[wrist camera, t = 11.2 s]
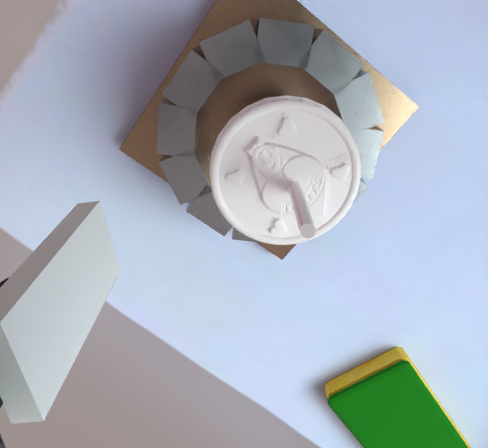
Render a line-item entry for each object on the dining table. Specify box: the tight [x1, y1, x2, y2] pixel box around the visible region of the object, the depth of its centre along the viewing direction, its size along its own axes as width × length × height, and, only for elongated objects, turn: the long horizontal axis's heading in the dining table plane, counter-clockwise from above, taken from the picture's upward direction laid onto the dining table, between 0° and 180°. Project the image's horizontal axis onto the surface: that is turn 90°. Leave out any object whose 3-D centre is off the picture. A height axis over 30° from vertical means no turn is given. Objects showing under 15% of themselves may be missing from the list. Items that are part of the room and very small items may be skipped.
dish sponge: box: [325, 347, 470, 448], centre depth 38 cm, size 7×14×2 cm, turn 35°
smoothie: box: [209, 95, 361, 245], centre depth 21 cm, size 6×6×14 cm
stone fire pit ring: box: [120, 0, 418, 259], centre depth 26 cm, size 13×13×4 cm
